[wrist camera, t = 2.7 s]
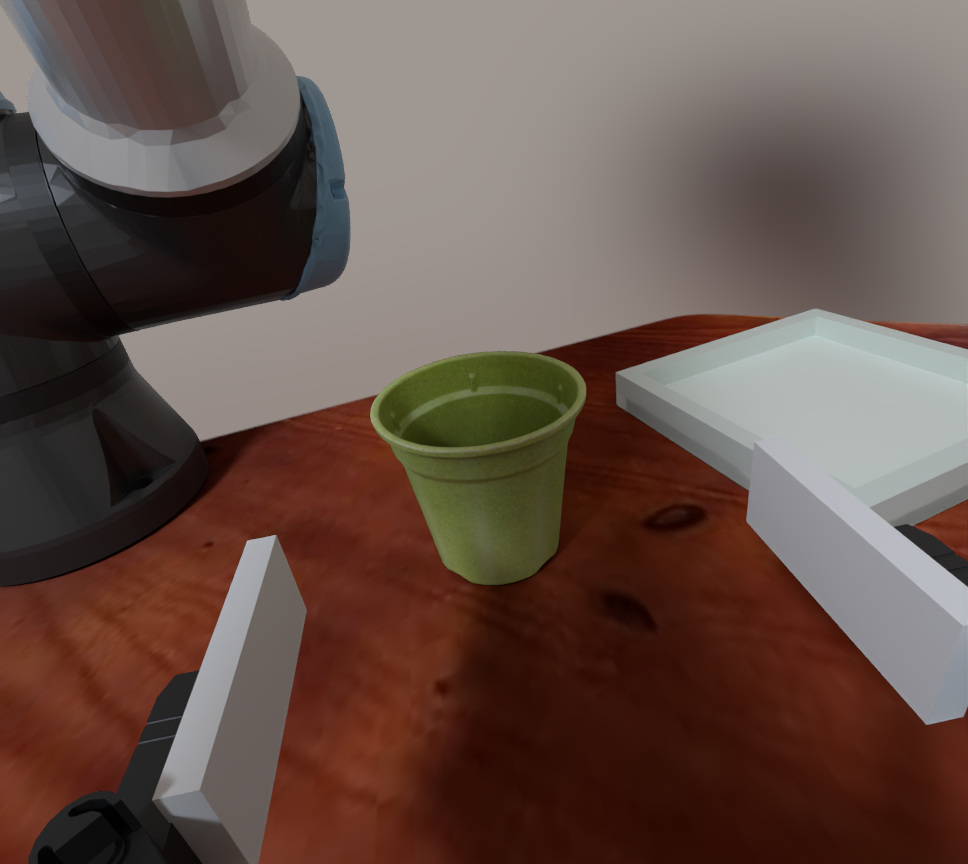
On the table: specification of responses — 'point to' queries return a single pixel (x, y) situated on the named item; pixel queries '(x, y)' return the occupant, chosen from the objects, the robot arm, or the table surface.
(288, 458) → the table surface
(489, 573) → the plant pot
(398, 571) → the table surface
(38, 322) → the robot arm
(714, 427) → the tray
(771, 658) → the table surface
